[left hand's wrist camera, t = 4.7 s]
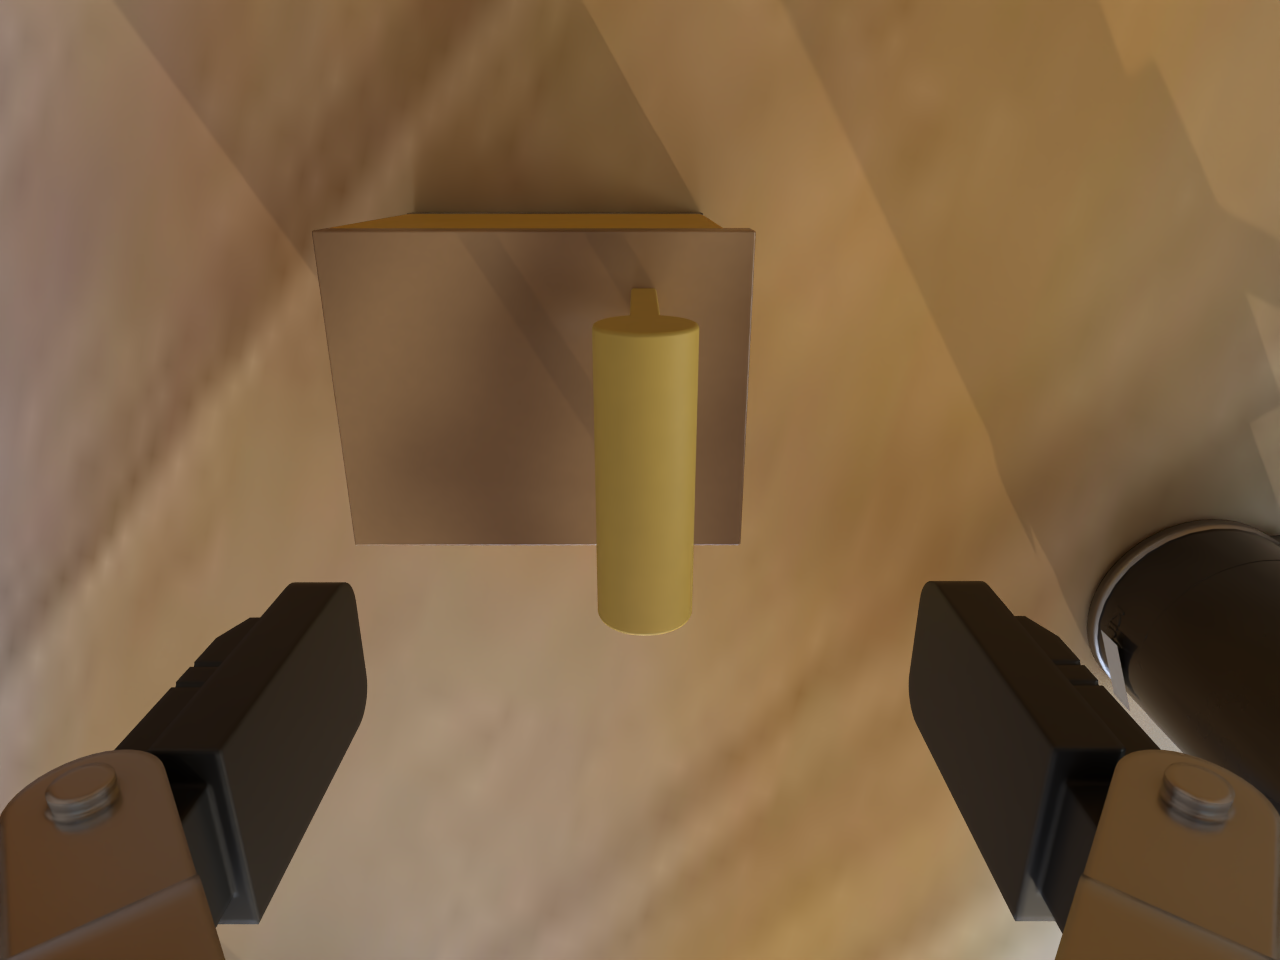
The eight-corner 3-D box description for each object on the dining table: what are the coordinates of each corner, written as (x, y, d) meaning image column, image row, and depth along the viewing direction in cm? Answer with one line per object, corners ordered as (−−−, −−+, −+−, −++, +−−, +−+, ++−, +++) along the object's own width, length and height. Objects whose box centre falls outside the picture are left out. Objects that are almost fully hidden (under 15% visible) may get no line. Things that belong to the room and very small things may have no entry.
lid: (750, 228, 23) (812, 257, 15) (736, 531, 26) (779, 690, 18) (325, 228, 23) (155, 258, 15) (365, 531, 26) (244, 690, 18)
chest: (701, 212, 32) (725, 227, 23) (695, 440, 35) (714, 530, 26) (412, 212, 32) (325, 227, 23) (434, 441, 35) (366, 531, 26)
